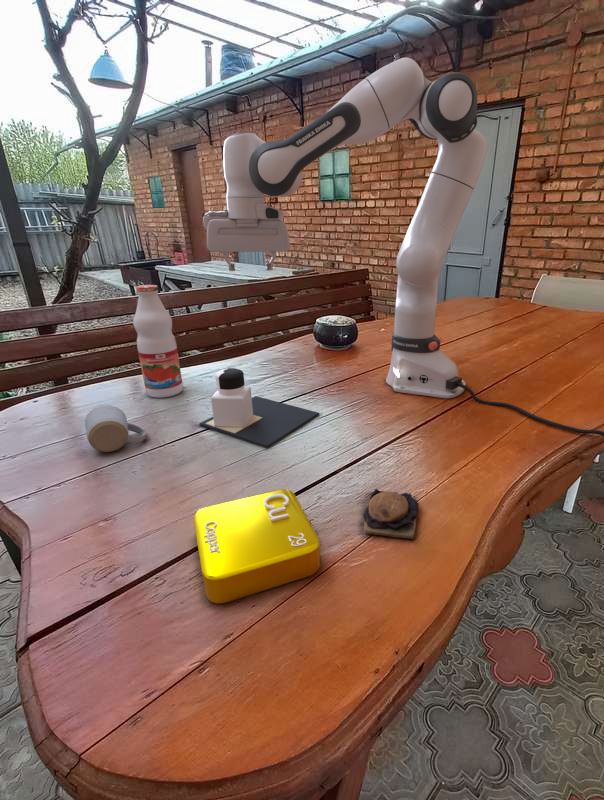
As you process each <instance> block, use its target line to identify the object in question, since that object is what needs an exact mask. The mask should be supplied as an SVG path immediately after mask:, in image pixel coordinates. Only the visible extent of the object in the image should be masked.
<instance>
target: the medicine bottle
mask: <svg viewBox="0 0 604 800" xmlns="http://www.w3.org/2000/svg"><path fill="white" fill-rule="evenodd" d="M214 377H215V385H216V386H215V387H216V391H215V392H214V393H213V395H212V396H211V397H210V401H211V403H210V404H211V409H212V417H213V418H214V425H215V426H217V427H246V426H247V424H248V422H249V420H250V418H251V417H252V415H253V407H252V398H253V397H252V387H251V386H249V385H247V386H246V385H245V373H244V371H243V370H241V369H239V368H235V367H226V368H223V369H220V370H218V371H216V372H215V374H214Z"/></svg>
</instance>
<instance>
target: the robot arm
mask: <svg viewBox="0 0 604 800" xmlns="http://www.w3.org/2000/svg"><path fill="white" fill-rule="evenodd" d="M477 110H478V91H477V87H476V84H475V83H474V81H473V80H472V78H470V76H468V75H467V74H465V73H464V72H463V73H462V72H458V71H450V72H447V73H444V74H442V75H440V76H439V77H438V78H437V79H435V80H433V81H432V80H429V79H427V77H426V76H424V72H423V70H422V68H421V67H420V65H419V64H418V63H417V62H416V61H415V60H414V59H412V58H411V57H401V58H399V59H397V60H393V61H392V62H390V63H388V64H386V65H384V66H382V67H381V68H379V69H377V70H375V71H374V72H372V73H371V74H369V75H368V76H367V77H365V78H364V79H362V80H361V81H360V82H359V83H357V84H356V85H355V86H353V87H352V88H351V89H350V90H348V92H347V93H346V94H345V95H344V96H343V97H342V98H340V99H339V100H338V101H337V102H336V103H335V104H334V105H332V106H331V108H330V109H328V110H327V111H326V112H325V113H324V114H321V116H319V117H318V118H316V119H314V120H313V121H311V122H310V123H309V124H307V125H306V126H304V127H302V128H301V129H300V130H298V131H296V132H294V133H293V134H292V135H290V136H288V137H287V138H284V139H280V140H274V141H265V140H263V139H261V138H260V137H259V136H258V135H257V134H255V133H254V132H244V131H243V132H236V133H234V134H231V135H230V136H228V137H226V139H225V140H224V144H223V150H222V151H223V152H222V155H223V156H222V157H223V159H222V160H223V161H222V162H223V175H224V180H225V183H226V197H225V198H226V208H227V210H219V211H214V210H209V211H208V212H206V213H205V214H204V215H203V216H202V225H203V228H204V230H205V231H206V247H207V248H206V249H207V250H208V251H209V252H210V253H222V258H223V259H224V260H225V262H226V264H227V265H228V271H229V272H235V271H236V266H235V263H232V262H231V261H230V259H229V257H230V253H260V252H261V253H263V252H266V253H267V252H269V255H270V257H271V258H270V260H269V262H265V265H266V271H274V270H273V269H274V268H273V264H274V262H275V260H276V258H277V252H288V251H289V250H290V249H291V243H290V242H291V241H290V233H289V230H288V226H287V224H286V223H285V221H283V219H284V212H283V210H282V209H279V208H276V207H274V206H272V205H268V204H266V203H265V195H266V196H269V197H279V198H285V197H289V196H292V195H293V194H295V193H296V192H297V191H298V190H299V189H300V187H301V185H302V183H303V170H304V169H306V168H307V167H308V166H310V165H312V164H313V163H314V162H316V161H317V160H319V159H320V158H322V157H323V156H324V155H326V154H328V153H329V152H331V151H332V150H335V149H337V148H339V147H342V146H346V145H347V146H348V145H355V146H356V145H357V146H362V145H365V144H367V143H370V142H372V141H374V140H376V139H378V138H380V137H381V136H384V134H386V133H388V132H389V131H390V130H392V129H394V128H395V127H396V126H397V125H399V124H401V123H402V122H404V121H406V120H408V121H409V122H410V123H411V124H412V125H413V126H414V127H415V129H416V130H417V131H418V132H419V133H420V134H421V135H422V136H423V137H424V138H426V139H428V140H433V141H435V140H436V141H437V145H438V146H437V147H438V150H437V156H436V160H435V163H434V164H433V167H432V169H431V172H430V174H429V177H428V179H427V182H426V184H425V187H424V189H423V191H422V194H421V197H420V199H419V202H418V205H417V206H416V207H417V208H416V209H415V212H414V213H413V216H412V219H411V221H410V224H409V226H408V229H407V231H406V234H405V236H404V239H403V240H402V243H401V246H400V248H399V251H398V253H397V256H396V261H395V262H396V263H395V265H396V266H395V267H396V271H397V284H396V295H395V305H394V307H395V308H394V321H393V323H394V325H393V333H391V334H392V335H391V359H390V364H389V369H388V373H387V375H386V377H385V382H386V384H387V385H389V386H390V387H391V388H392V389H393V391H394V392H396V393H402V394H411V395H418V396H426V397H433V398H441V399H453V398H456V397H458V396H460V395H461V394H462V393H464V391H466V392H468V393H469V394H470V396H471V397H472V399H473V400H474V401H476V402H477V403H480V404H484V405H489V406H497V407H504V408H508V409H509V408H510V409H513V410H515V411H517V412H519V413H520V414H523V415H525V416H527V417H529V418H531V419H533V420H536V421H538V422H540V423H543V424H545V425H549V426H552V427H555V428H559V429H562V430H566V431H570V432H573V433H577V434H588V435H590V434H591V435H599V436H602V437H604V431H603V430H600V429H583V428H582V429H581V428H577V427H573V426H569V425H566V424H565V425H564V424H562V423H559V422H555V421H552V420H548V419H546V418H543V417H540V416H538V415H535V414H533V413H532V412H529V411H527V410H525V409H523V408H522V407H518V406H516V405H514V404H511V403H508V402H507V403H506V402H500V401H488V400H484V399H481V398H479V397H478V396H477V395H476V394H475V392H474V391H473V390H472V389H471V388H470V387H468V386H467V385H466V382H465V380H463V377H461V376H459V369H458V366H457V363H456V362H454V361H453V360H452V359H451V358H450V357H449V356H447V354H445V353H444V351H443V350H441V349H440V348H441V343H442V342H443V337H440V338H439V337H438V336H437V335H435V329H436V317H437V316H436V315H437V306H438V293H439V292H438V291H439V277H440V271H441V268H442V266H443V263H444V261H445V258H446V257H447V254H448V251H449V250H450V247H451V244H452V242H453V239H454V237H455V234H456V232H457V229H458V227H459V224H460V222H461V220H462V217H463V215H464V213H465V211H466V208H467V206H468V204H469V201H470V199H471V197H472V195H473V192H474V190H475V188H476V185H477V183H478V181H479V178H480V175H481V172H482V169H483V166H484V163H485V158H486V155H487V150H488V142H487V139H486V137H485V136H484V135H483V134H482V133H481V132H480V131H479V130H477V129H475V128H476V127H477V125H478V111H477Z"/></svg>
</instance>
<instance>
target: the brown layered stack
mask: <svg viewBox="0 0 604 800" xmlns="http://www.w3.org/2000/svg"><path fill="white" fill-rule="evenodd" d="M418 515H419V502H418V500H417V499H415V496H413V495H412V494H411V493H408V492H404V493H401V494H399V493H398V492H395V491H394V492H392V491H383V490H379V489H378V488H375V489H374V491H373V492H371V493H370V494H369V499H368V502H367V505H366V508H365V510H364V512H363V514H362V516H363V533H364V534H365V535H376V536H386V537H391V538H399V539H400V538H401V539H409V540H411V539H412V540H414V538H415V534H416V530H417V529H416V528H417V517H418Z"/></svg>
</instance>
